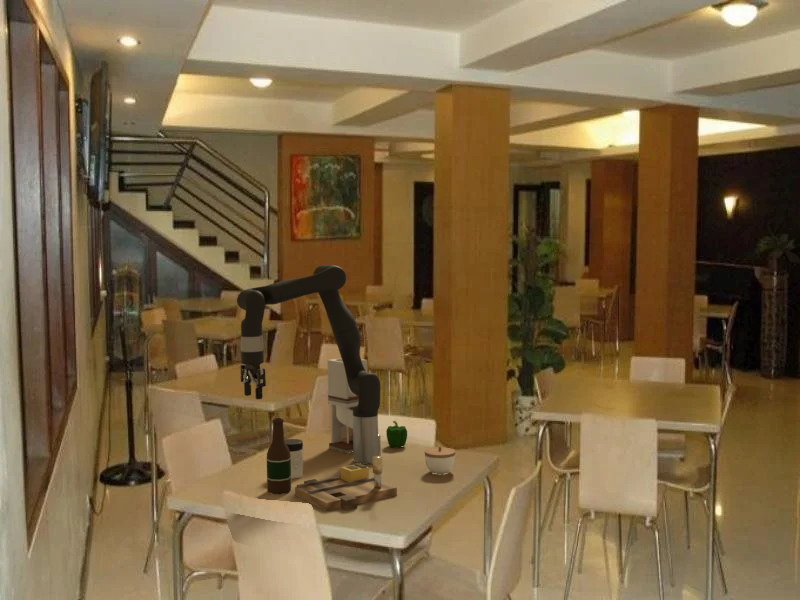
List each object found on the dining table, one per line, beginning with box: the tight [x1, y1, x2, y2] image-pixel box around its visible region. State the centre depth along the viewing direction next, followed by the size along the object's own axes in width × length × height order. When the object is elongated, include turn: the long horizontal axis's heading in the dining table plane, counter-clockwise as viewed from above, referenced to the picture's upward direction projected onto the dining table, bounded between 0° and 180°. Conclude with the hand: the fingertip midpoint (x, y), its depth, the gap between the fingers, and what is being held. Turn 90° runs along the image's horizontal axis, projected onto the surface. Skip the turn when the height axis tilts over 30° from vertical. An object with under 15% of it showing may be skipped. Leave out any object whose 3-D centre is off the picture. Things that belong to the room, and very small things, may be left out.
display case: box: [327, 357, 368, 454], centre depth 332 cm, size 11×11×35 cm
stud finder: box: [340, 462, 370, 482], centre depth 281 cm, size 7×6×4 cm
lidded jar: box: [424, 445, 456, 474], centre depth 297 cm, size 11×11×9 cm
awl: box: [372, 455, 383, 489], centre depth 271 cm, size 3×3×10 cm
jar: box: [284, 438, 304, 480], centre depth 295 cm, size 9×8×12 cm
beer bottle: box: [266, 417, 292, 495], centre depth 277 cm, size 8×8×24 cm
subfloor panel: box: [294, 475, 398, 512], centre depth 272 cm, size 26×26×3 cm
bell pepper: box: [385, 420, 408, 448], centre depth 335 cm, size 8×8×10 cm
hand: (253, 397), depth 286 cm, fingers open, 8 cm apart
